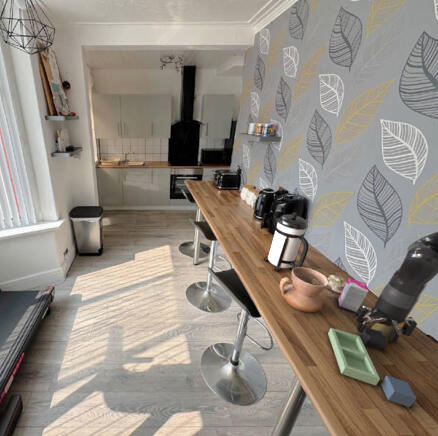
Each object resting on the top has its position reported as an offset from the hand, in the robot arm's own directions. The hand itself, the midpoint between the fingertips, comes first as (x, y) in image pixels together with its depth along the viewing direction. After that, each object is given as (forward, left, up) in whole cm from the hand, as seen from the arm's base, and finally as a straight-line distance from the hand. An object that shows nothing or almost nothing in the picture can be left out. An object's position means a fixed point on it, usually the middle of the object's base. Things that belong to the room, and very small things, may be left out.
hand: (374, 335), depth 81 cm
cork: (-5, -6, -4) cm, 9 cm away
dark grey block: (0, 0, -4) cm, 4 cm away
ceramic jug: (+21, -11, -4) cm, 24 cm away
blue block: (+1, +19, -4) cm, 19 cm away
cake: (+3, -31, -4) cm, 32 cm away
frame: (+9, +10, -4) cm, 14 cm away
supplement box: (+2, -18, -4) cm, 19 cm away
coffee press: (+25, -38, -4) cm, 46 cm away
